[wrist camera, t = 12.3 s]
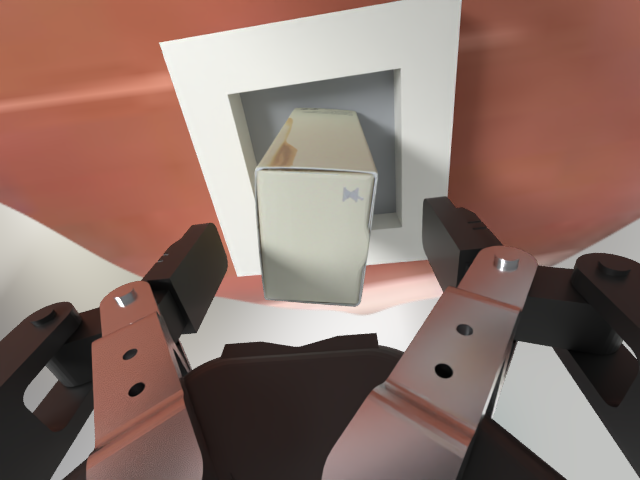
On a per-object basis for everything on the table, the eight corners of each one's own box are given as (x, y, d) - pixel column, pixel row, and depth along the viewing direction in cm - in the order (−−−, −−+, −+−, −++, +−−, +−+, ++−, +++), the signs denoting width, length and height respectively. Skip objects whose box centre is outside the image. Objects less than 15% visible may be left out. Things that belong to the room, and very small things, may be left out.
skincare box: (292, 106, 21) (248, 155, 10) (357, 109, 21) (382, 162, 10) (293, 196, 24) (260, 305, 13) (349, 199, 24) (361, 310, 13)
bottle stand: (185, 45, 20) (159, 42, 17) (441, 1, 18) (462, -11, 15) (248, 253, 28) (237, 276, 25) (430, 235, 26) (442, 258, 23)
